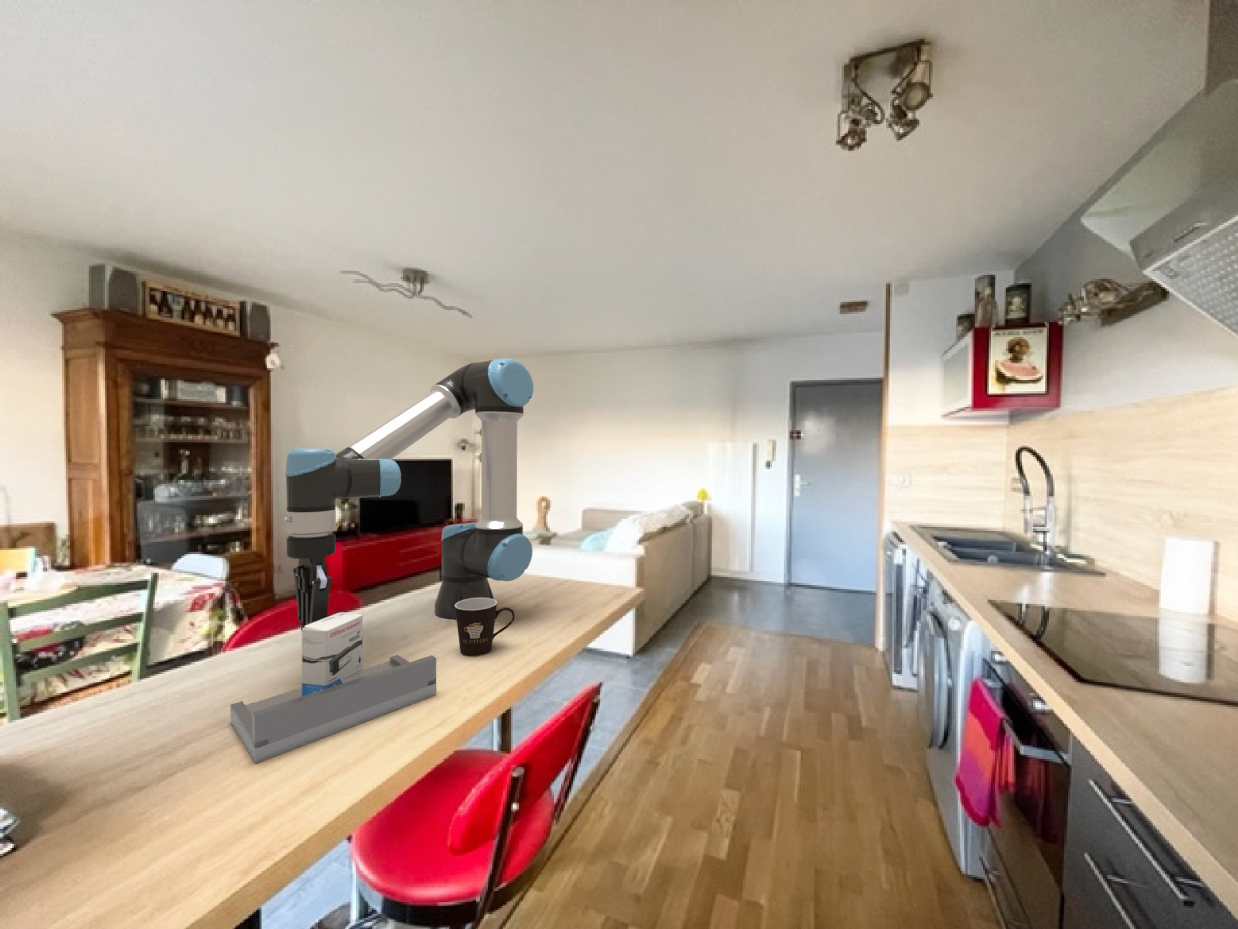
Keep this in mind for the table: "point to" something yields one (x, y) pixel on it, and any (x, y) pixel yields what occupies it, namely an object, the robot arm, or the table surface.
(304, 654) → the ink box
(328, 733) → the gray tray
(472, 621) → the coffee mug
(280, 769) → the table surface
